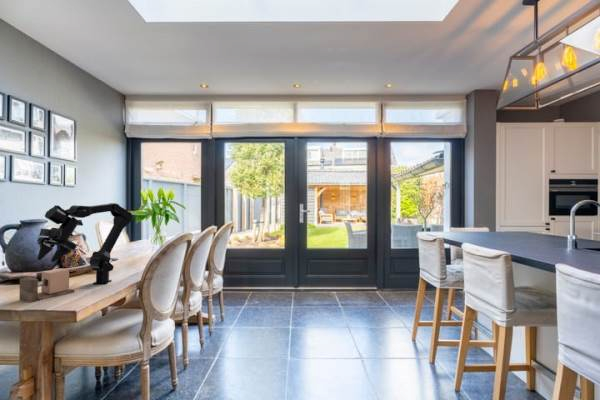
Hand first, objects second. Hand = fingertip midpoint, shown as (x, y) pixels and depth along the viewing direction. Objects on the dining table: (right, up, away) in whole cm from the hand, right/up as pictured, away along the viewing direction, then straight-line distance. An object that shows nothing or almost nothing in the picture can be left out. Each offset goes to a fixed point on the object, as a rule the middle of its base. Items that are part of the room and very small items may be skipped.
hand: (45, 260), depth 145 cm
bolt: (-1, -11, -1) cm, 11 cm away
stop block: (0, -16, +2) cm, 16 cm away
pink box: (+1, -14, +5) cm, 15 cm away
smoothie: (-21, -15, +47) cm, 53 cm away
